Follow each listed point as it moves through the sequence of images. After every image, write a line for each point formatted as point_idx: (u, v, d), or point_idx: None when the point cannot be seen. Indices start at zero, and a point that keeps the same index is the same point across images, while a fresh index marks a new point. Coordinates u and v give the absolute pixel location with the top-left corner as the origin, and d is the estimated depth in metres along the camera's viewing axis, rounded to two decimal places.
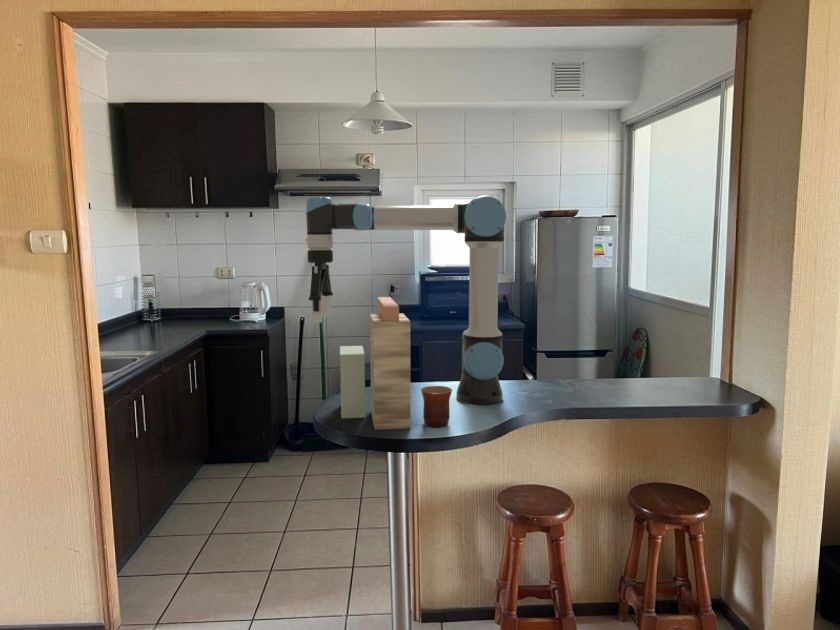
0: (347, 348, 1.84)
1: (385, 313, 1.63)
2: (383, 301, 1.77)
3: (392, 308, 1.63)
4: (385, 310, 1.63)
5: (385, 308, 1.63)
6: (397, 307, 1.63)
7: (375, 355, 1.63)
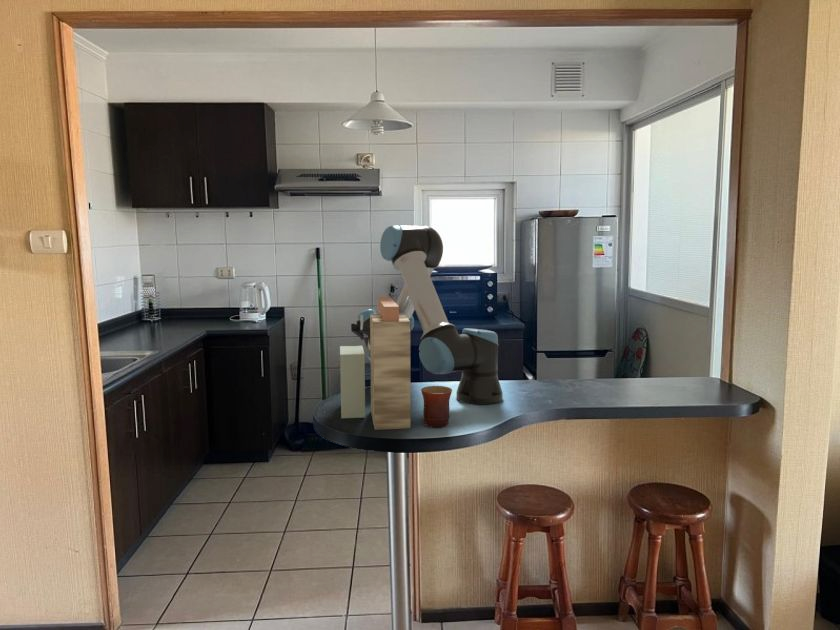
0: (347, 348, 1.84)
1: (385, 313, 1.63)
2: (383, 301, 1.77)
3: (392, 308, 1.63)
4: (385, 310, 1.63)
5: (385, 308, 1.63)
6: (397, 307, 1.63)
7: (375, 355, 1.63)
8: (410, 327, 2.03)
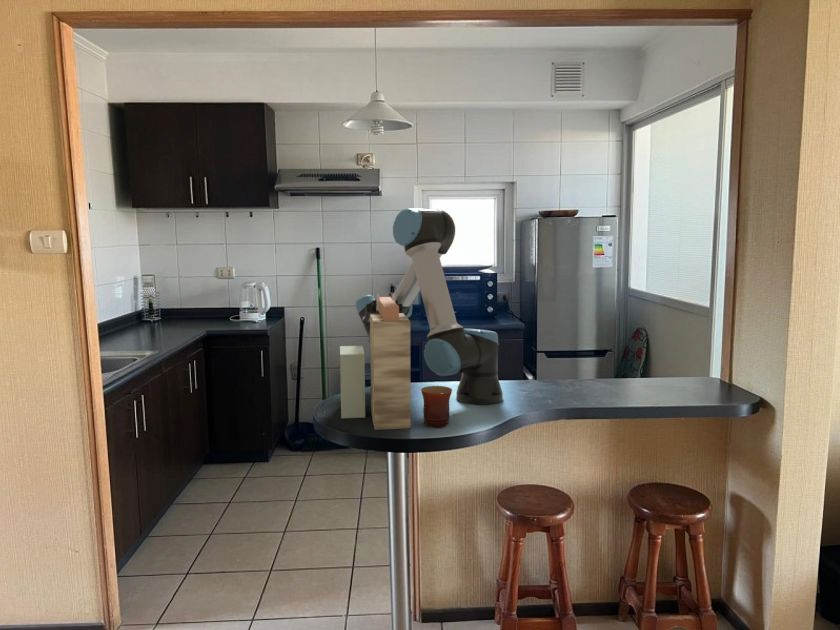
0: (347, 348, 1.84)
1: (385, 313, 1.63)
2: (383, 301, 1.77)
3: (392, 308, 1.63)
4: (385, 310, 1.63)
5: (385, 308, 1.63)
6: (397, 307, 1.63)
7: (375, 355, 1.63)
8: (401, 308, 1.88)
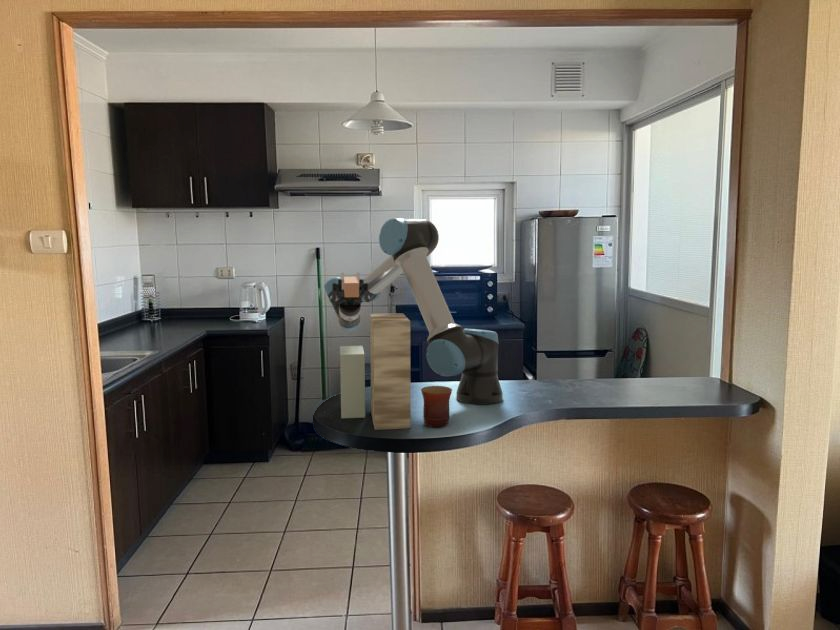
0: (347, 348, 1.84)
1: (345, 289, 1.69)
2: (346, 279, 1.82)
3: (352, 284, 1.69)
4: (345, 286, 1.69)
5: (345, 284, 1.69)
6: (357, 284, 1.69)
7: (375, 355, 1.63)
8: (366, 287, 1.94)
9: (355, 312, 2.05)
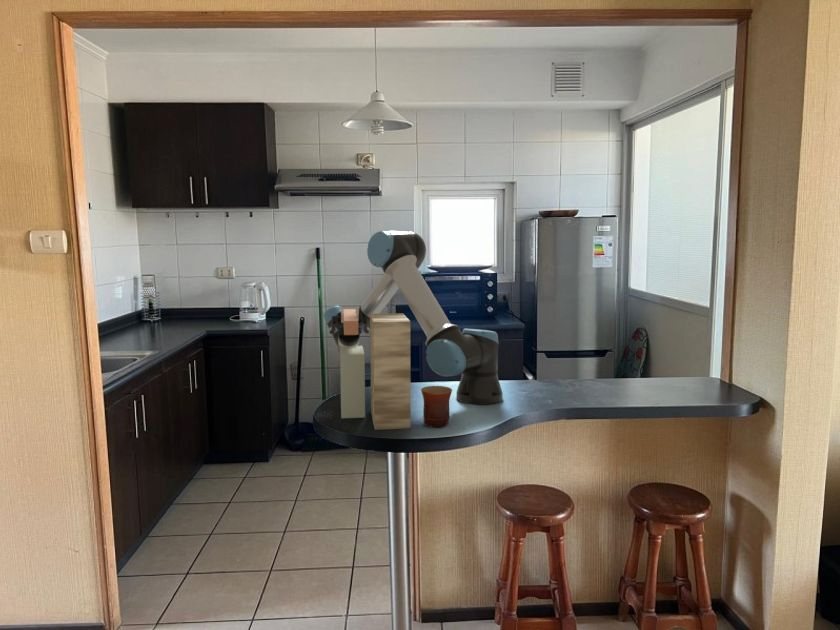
0: (347, 348, 1.84)
1: (345, 327, 1.70)
2: (346, 314, 1.84)
3: (352, 322, 1.70)
4: (345, 324, 1.70)
5: (345, 322, 1.70)
6: (356, 321, 1.71)
7: (375, 355, 1.63)
8: (365, 320, 1.95)
9: (354, 343, 2.06)
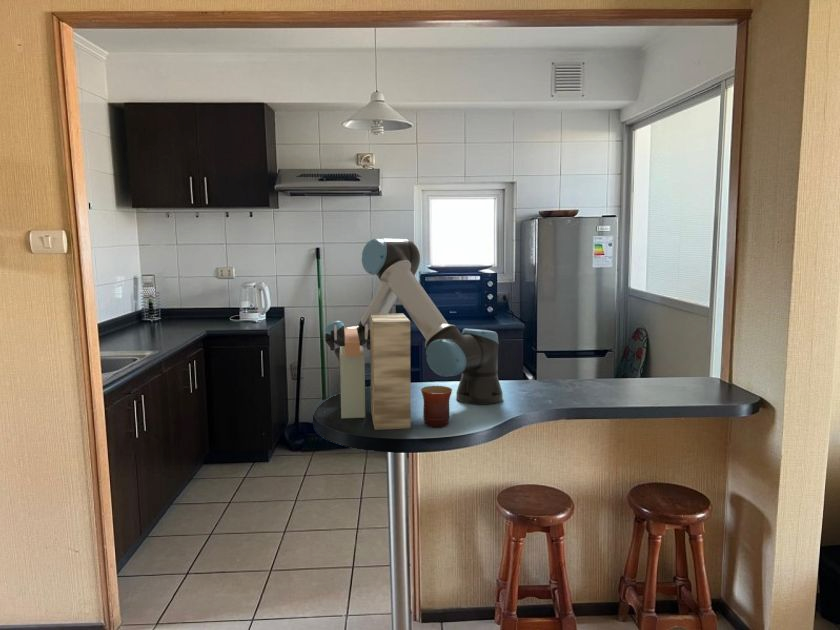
0: None
1: (346, 349, 1.71)
2: (347, 334, 1.84)
3: (353, 344, 1.71)
4: (346, 346, 1.71)
5: (346, 344, 1.71)
6: (358, 343, 1.71)
7: (375, 355, 1.63)
8: None
9: None
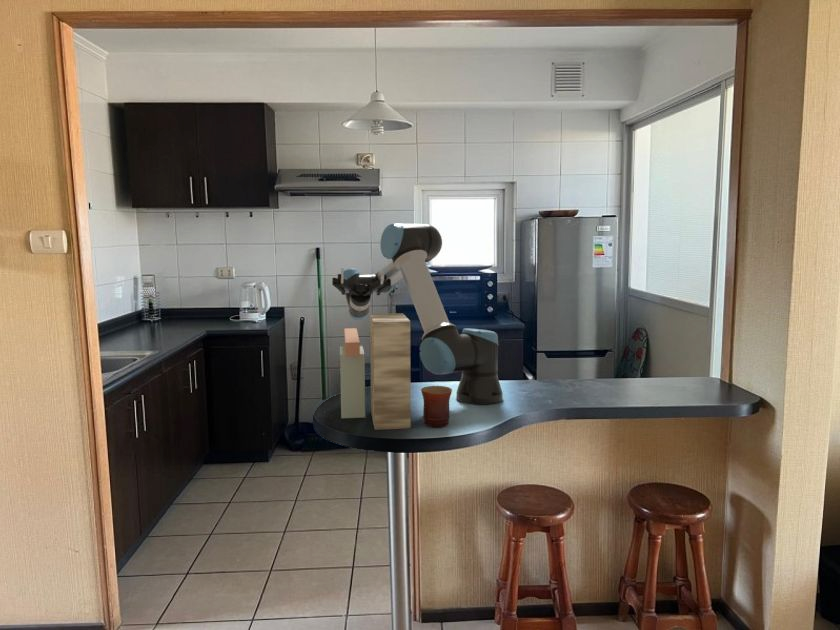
0: None
1: (346, 349, 1.71)
2: (347, 334, 1.84)
3: (353, 344, 1.71)
4: (346, 346, 1.71)
5: (346, 344, 1.71)
6: (358, 343, 1.71)
7: (375, 355, 1.63)
8: (390, 283, 2.09)
9: (365, 303, 2.18)
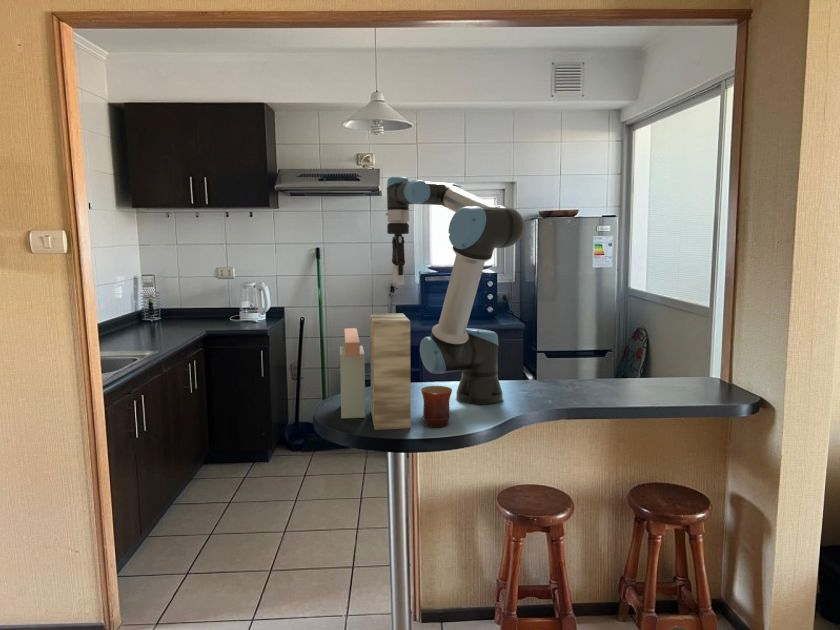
0: None
1: (346, 349, 1.71)
2: (347, 334, 1.84)
3: (353, 344, 1.71)
4: (346, 346, 1.71)
5: (346, 344, 1.71)
6: (358, 343, 1.71)
7: (375, 355, 1.63)
8: None
9: None
